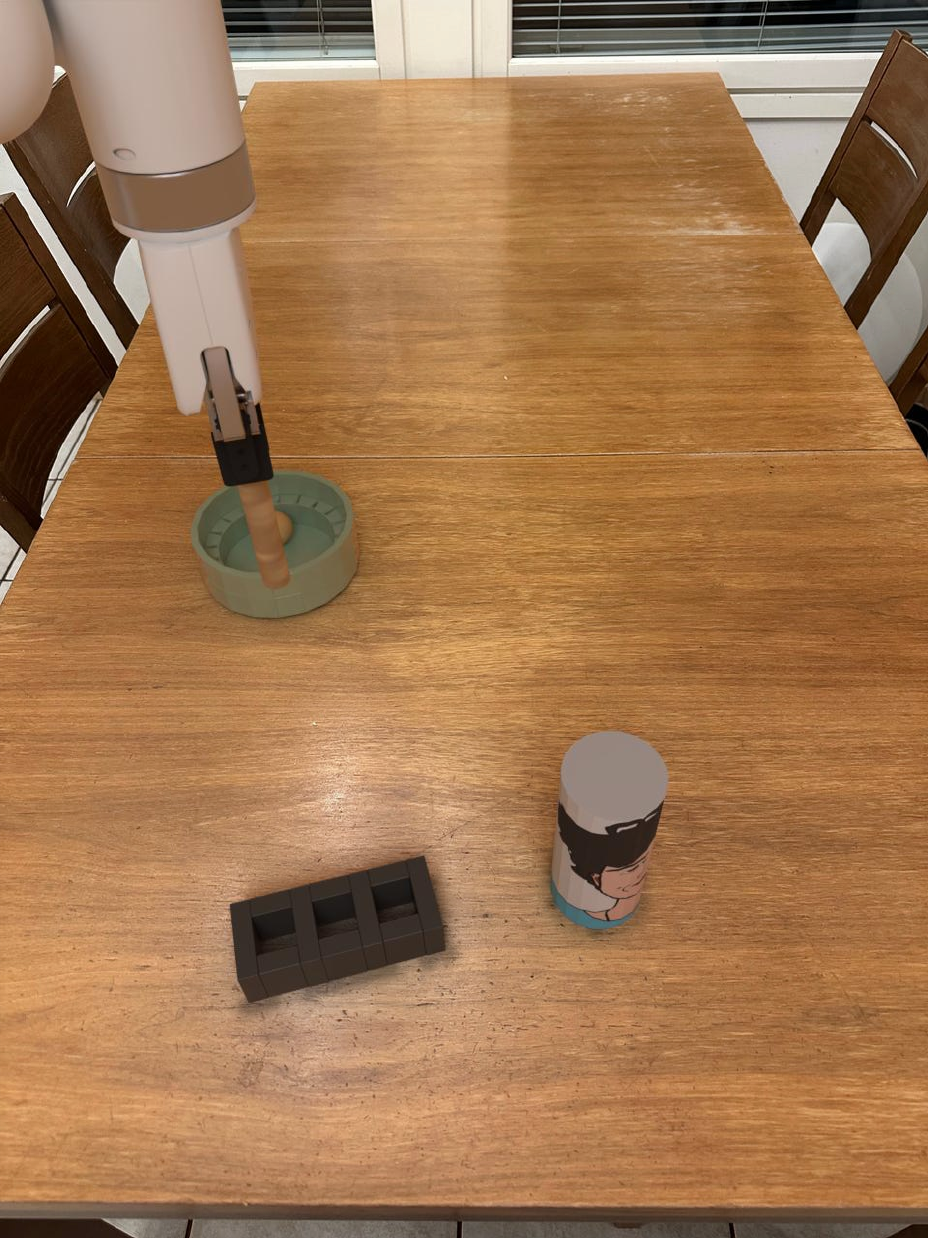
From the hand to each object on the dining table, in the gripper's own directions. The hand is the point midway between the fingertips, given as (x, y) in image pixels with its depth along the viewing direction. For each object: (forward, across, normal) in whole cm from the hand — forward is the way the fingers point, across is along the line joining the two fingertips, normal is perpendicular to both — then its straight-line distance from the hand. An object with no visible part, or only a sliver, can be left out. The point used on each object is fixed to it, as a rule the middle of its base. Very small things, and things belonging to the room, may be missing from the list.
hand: (247, 466), depth 62 cm
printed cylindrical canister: (+27, +21, +19) cm, 39 cm away
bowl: (+27, -19, 0) cm, 33 cm away
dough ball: (+25, -22, 0) cm, 33 cm away
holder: (+27, +21, 0) cm, 34 cm away
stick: (+11, 0, 0) cm, 11 cm away
